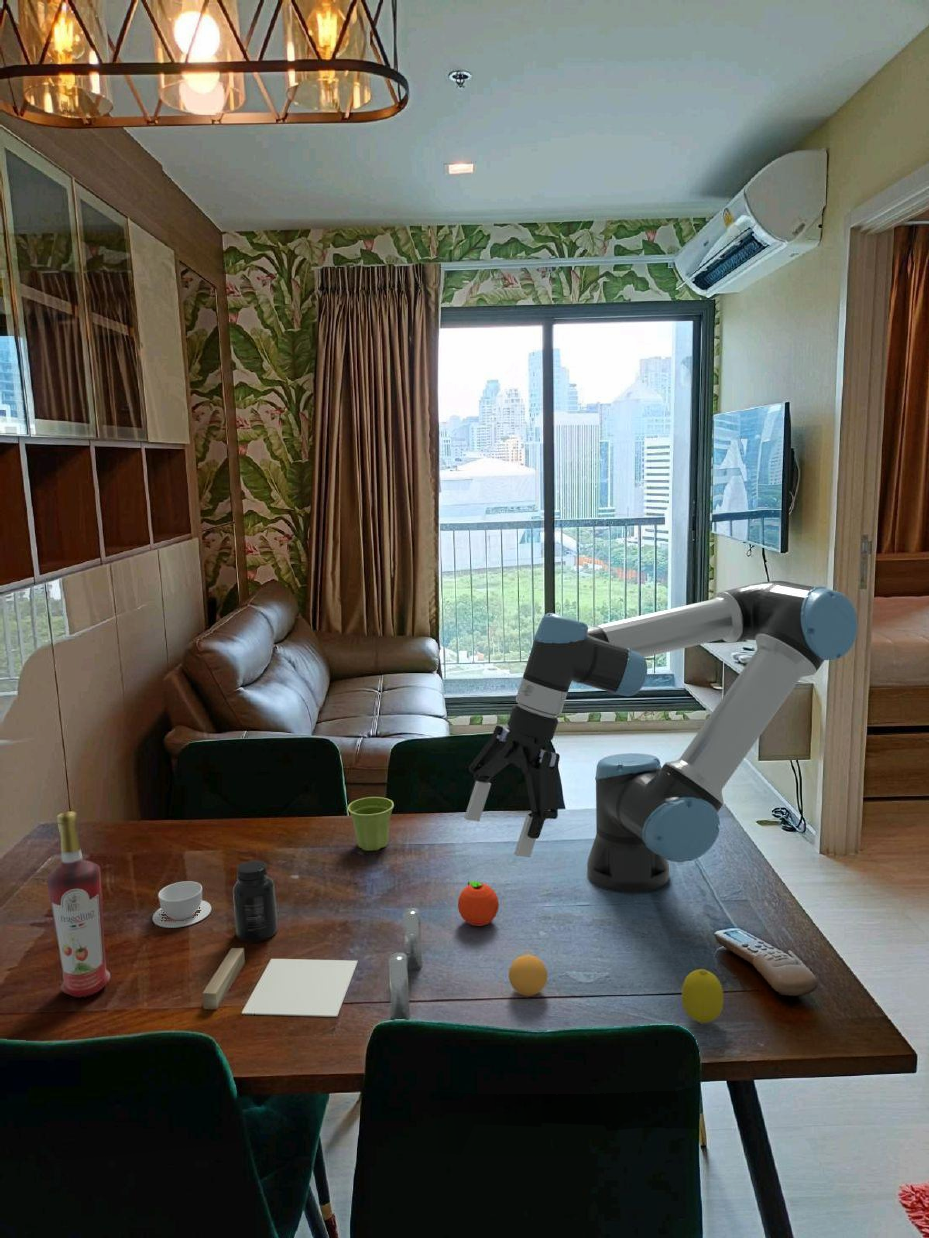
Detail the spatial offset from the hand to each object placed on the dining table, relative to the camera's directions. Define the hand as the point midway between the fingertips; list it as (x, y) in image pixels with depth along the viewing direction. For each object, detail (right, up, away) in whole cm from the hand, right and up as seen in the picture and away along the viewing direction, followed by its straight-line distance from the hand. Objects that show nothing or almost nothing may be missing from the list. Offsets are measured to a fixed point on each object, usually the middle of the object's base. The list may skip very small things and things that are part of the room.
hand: (495, 837), depth 138 cm
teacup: (-55, -18, +16) cm, 60 cm away
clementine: (-3, -17, +10) cm, 20 cm away
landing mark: (-29, -21, -7) cm, 37 cm away
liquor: (-62, -22, -6) cm, 66 cm away
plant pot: (-24, -12, +42) cm, 50 cm away
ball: (+4, -18, -11) cm, 21 cm away
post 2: (-13, -19, -2) cm, 23 cm away
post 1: (-14, -22, -15) cm, 30 cm away
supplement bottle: (-40, -19, +9) cm, 45 cm away
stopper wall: (-41, -21, -6) cm, 47 cm away
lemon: (+28, -21, -18) cm, 39 cm away
